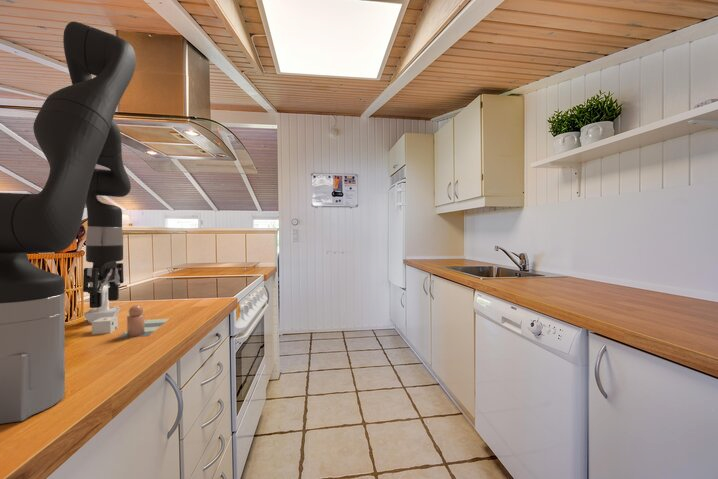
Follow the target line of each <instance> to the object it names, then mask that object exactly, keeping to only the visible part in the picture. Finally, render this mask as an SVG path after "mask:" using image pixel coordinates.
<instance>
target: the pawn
mask: <svg viewBox="0 0 718 479" xmlns="http://www.w3.org/2000/svg"><path fill="white" fill-rule="evenodd" d="M126 318H127V319H126V331H127V336H128V337H131V338H137V337H136V336H140V335H143V334H144V333H145V320H146V319H145V314H144V308H143V307H142V306H141V305H138V304H137V305H136V304H135V305H133V306H131V307H130V308H129V309H128V316H126Z"/></svg>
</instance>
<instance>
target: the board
mask: <svg viewBox="0 0 718 479" xmlns="http://www.w3.org/2000/svg"><path fill="white" fill-rule="evenodd" d="M169 320H170V318H159V319H158V318H157V319H145V333H144V334H143V335H140V336H136V337H135V338H140V337H141V338H143V337H149V336H150V335H151V334H153V333H154V332H155V331H156V330H158V329H159V328H160V327H161V326H162V325H164V324H165V323H166V322H168V321H169ZM127 338H128V339H129V338H131V339H132V337H128V336H127V330H126V331H125V332H123V333H121V334H120V335H119V336H117V337H116V338H115V339H118V340H119V339H127Z"/></svg>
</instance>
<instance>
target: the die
mask: <svg viewBox="0 0 718 479" xmlns="http://www.w3.org/2000/svg"><path fill="white" fill-rule="evenodd" d="M117 329H119V316H116V317H104V318H99V319H97V320H95V321H93V322H92V323H91V335H102V334H112V333H113V332H114V331H116V330H117Z"/></svg>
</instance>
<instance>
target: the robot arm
mask: <svg viewBox="0 0 718 479" xmlns="http://www.w3.org/2000/svg"><path fill="white" fill-rule="evenodd" d="M62 38H63V39H62V43H63V44H62V45H63V50H64V56H65V57H64V58H65V61H66V65H67V70H68V73H69V76H70V81H71V85H68V86H66V87H62V88H60V89H58V90H56V91H54V92H52V93H51V94H50V95H48V96H47V97H46V99H45V100H44V102H43V104H42V105H41V107H40V109H39V111H38V113H37V115H36V117H35V119H34V122H33V126H32V128H33V134H34V137H35V139H36V142H37V144H38V146H39V147H40V149H41V151H42V152H43V155H44V156H45V158H46V160H47V162H48V164H49V173H48V174H49V175H48V177H47V180H46V182H45V185H44V187H43V188H42V190H41V191H40V192H39V193H23V192H21V193H20V192H19V193H17V192H15V193H14V192H0V425H1V424H8V423H15V422H22V421H24V420H26V419H28V418H29V417H31V416H33V415H35V414H38V413H41V412H43V411H45V410H47V409H49V408H51V407H53V406H54V405H56V404H58V403H59V402H60V401H61V400H63V398H64V397H65V394H66V392H65V391H66V378H65V377H66V370H65V368H66V366H65V365H66V364H65V363H66V359H65V358H66V356H65V352H66V350H65V349H66V346H65V340H66V339H65V338H66V336H65V335H66V334H65V330H66V329H65V327H66V326H65V324H66V323H65V322H66V321H65V320H66V319H65V316H66V314H65V313H66V312H65V310H66V304H65V303H66V302H65V301H66V297H65V296H66V295H65V294H66V293H65V292H66V290H65V289H66V287H65V286H66V284H65V279H64V277H63V276H62V275H59V274H58V273H54V272H50V271H48V270H44V269H42V268H39V267H37V266H36V265H34V264H33V263H32V262H31V261H30V259H29V256H28V254H48V253H49V254H52V253H60V252H63V251H65V250H67V249H68V248H69V247H70V246H72V244H74V242H75V240H76V238H77V237H78V234H79V232H80V228H81V225H82V220H83V216H84V212H85V207H86V215H87V216H86V217H87V221H86V222H87V223H86V224H87V225H86V226H87V227H86V228H87V229H86V233H85V261H86V262H87V263H92V267H84V269H83V275H82V282H83V283H82V293H87V294H89V308H90V309H95V308H99V307H101V306H102V293H101V292H102V289H103V286H105V285H106V284H108V286H109V288H108V300H109V302H110V301H118V300H119V299H120V298H119V292H120V287H121V284H124V282H125V281H124V263H122V261H123V260H124V233H123V210H122V208H121V207H120V206H117V205H113V204H109V203H105V202H102V201H100V200H99V199H98V197H99V196H103V197H116V198H118V197H119V198H122V197H123V198H124V197H126V196H128V194H129V193H130V192H131V189H132V188H131V187H132V185H131V181H130V178H129V175H128V173H127V171H126V169H125V165H124V163H123V154H122V151H123V150H122V148H123V147H122V134H121V131H120V128H119V126H118V123H117V122H116V120H115V118H114V117H115V114H116V111H117V108H118V106H119V103H120V101H121V100H122V97H124V96H123V95H124V94H125V93H126V90H127V89H128V86H129V85H130V83H131V81H132V79H133V77H134V73H135V70H136V67H137V66H136V63H137V57H136V56H137V55H136V53H135V50H134V47H133V46H132V45H131V44H130V43H129V42H128V41H127V40H125V39H124V38H121V37H119V36H117V35H114V34H113V33H109V32H106V31H103V30H101V29H98V28H95V27H93V26H90V25H88V24H85V23H81V22H78V21H70V22H68V23H67V25H65V28H64V31H63V36H62ZM97 165H98V166H102V167H105V168H106V169H103V168H96V166H97ZM97 196H98V197H97ZM98 285H99V286H98Z"/></svg>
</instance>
